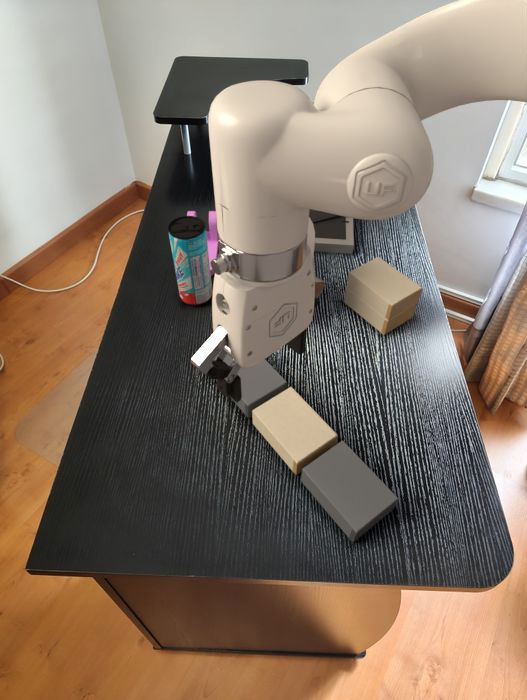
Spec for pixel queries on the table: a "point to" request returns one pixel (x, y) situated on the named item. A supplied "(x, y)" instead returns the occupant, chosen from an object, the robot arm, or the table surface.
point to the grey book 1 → (257, 385)
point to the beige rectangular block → (374, 316)
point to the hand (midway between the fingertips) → (262, 369)
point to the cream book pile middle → (383, 288)
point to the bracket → (210, 236)
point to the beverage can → (191, 259)
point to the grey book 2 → (348, 490)
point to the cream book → (293, 429)
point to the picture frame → (332, 232)
